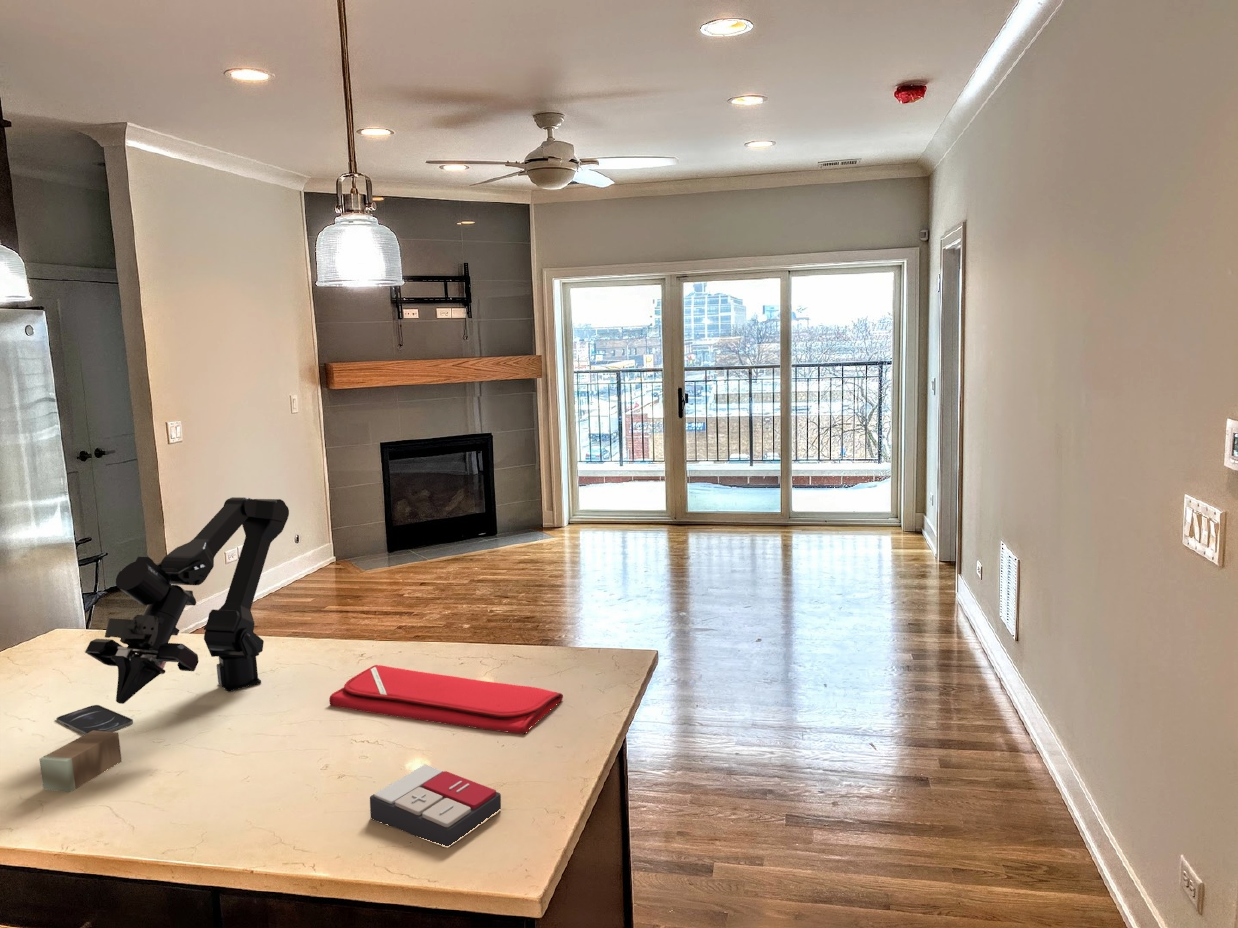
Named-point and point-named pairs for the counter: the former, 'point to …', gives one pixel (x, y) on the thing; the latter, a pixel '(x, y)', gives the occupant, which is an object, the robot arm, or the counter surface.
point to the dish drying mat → (445, 699)
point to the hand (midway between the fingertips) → (119, 702)
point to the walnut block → (80, 761)
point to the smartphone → (94, 720)
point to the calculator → (434, 804)
